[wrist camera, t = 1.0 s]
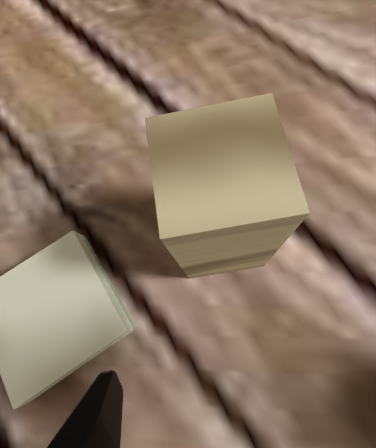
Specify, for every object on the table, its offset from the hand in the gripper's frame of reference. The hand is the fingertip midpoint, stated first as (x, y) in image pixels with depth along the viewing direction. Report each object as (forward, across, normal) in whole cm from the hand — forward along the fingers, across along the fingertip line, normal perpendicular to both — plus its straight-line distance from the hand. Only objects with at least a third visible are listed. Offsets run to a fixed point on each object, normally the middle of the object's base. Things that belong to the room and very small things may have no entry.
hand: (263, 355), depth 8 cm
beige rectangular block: (+15, 0, +4) cm, 15 cm away
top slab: (+12, +14, +6) cm, 19 cm away
